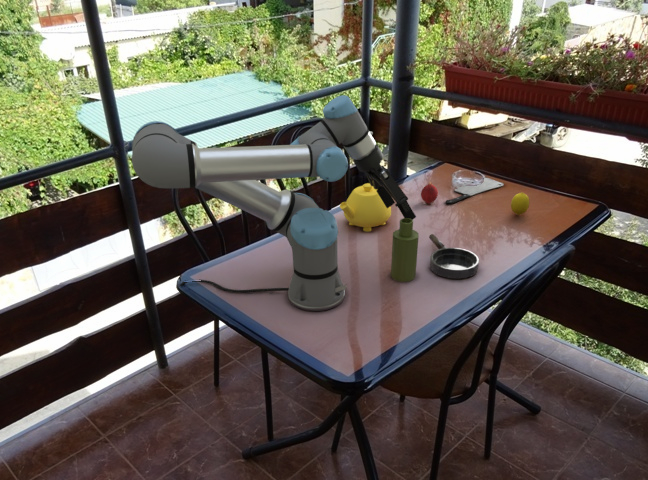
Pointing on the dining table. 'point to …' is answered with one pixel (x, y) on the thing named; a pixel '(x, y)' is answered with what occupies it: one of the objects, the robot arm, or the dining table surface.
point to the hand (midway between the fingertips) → (400, 212)
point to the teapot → (365, 208)
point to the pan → (454, 263)
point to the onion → (429, 193)
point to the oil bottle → (404, 251)
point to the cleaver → (475, 189)
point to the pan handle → (436, 241)
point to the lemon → (520, 203)
